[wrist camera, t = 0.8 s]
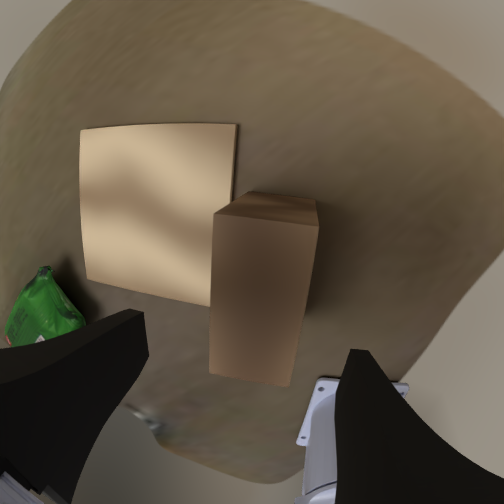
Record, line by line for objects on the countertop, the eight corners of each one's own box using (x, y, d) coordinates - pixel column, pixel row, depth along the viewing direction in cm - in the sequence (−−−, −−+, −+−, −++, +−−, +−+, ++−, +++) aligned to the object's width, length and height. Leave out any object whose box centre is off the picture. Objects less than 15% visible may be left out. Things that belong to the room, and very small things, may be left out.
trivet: (225, 305, 20) (223, 309, 20) (90, 276, 22) (87, 278, 22) (237, 125, 16) (235, 124, 16) (84, 130, 18) (80, 130, 18)
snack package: (111, 314, 23) (76, 345, 18) (55, 363, 28) (31, 386, 24) (65, 250, 22) (24, 271, 17) (22, 318, 27) (-5, 337, 23)
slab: (314, 199, 17) (319, 227, 11) (296, 316, 20) (288, 387, 13) (249, 191, 18) (213, 213, 11) (239, 307, 20) (209, 372, 14)
